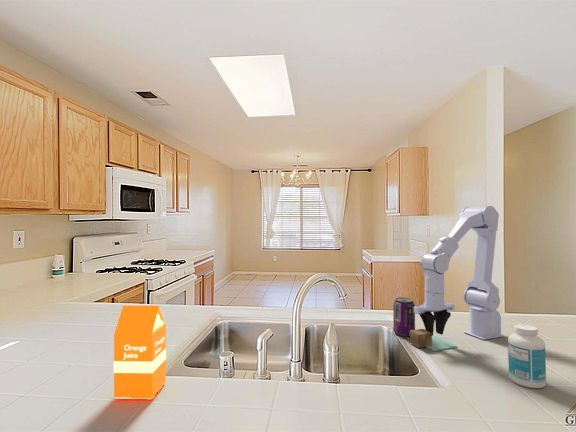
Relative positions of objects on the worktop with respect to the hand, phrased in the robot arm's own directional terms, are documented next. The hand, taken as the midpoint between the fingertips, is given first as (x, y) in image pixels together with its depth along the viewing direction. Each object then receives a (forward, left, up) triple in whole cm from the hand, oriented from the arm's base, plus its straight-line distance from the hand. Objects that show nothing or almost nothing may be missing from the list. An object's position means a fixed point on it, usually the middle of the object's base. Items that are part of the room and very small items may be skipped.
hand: (434, 334), depth 106 cm
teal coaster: (0, 0, -3) cm, 3 cm away
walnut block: (+2, 0, -1) cm, 3 cm away
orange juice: (+86, 0, -3) cm, 86 cm away
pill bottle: (-3, +27, -3) cm, 27 cm away
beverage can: (+3, -11, -3) cm, 12 cm away
